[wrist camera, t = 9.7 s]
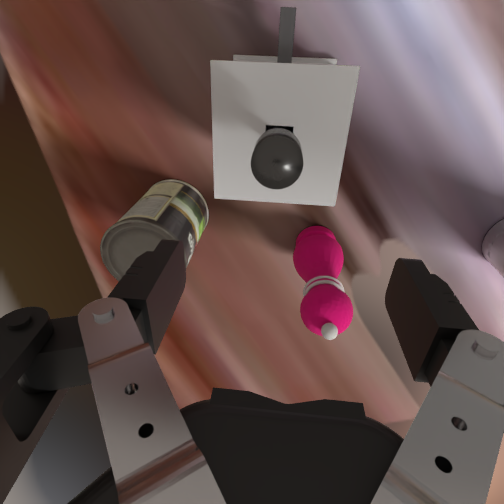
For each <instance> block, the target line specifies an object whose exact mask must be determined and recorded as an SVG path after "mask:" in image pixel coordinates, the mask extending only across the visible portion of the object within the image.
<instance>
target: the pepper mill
mask: <svg viewBox="0 0 504 504" xmlns="http://www.w3.org/2000/svg"><path fill="white" fill-rule="evenodd" d="M343 259H344V258H343V251H342V248H341V246H340V245H339V243H338V242H337V241H336V238H335V236H334V234H333V233H332V231H330V230H329V229H327V228H325V227H322V226H311V227H308V228H306V229H304V230H303V231H302V232H301V233H300V234H299V235H298V237H297V239H296V248H295V250H294V253H293V261H294V266H295V268H296V270H297V272H298V274H299V275H300V276H301V278H302V279H303V280H304V281H305V282H306V285H305V287H304V290H303V295H304V298H303V300H302V302H301V307H300V313H301V318H302V320H303V322H304V324H305V325H306V327H307V328H308V329H309V330H310V331H312V332H313V333H315V334H317V335H320V336H323V337H324V338H326V339H328V340H332V339H334V338H336V336H337V335H338V334H340V333H342V332H343V331H345V330H346V329H347V328H348V326H349V325H350V323H351V321H352V317H353V307H352V303H351V300H350V298H349V297H348V296H347V295H346V293H345V292H344V288H343V285H342V284H341V282H340V281H339V280H337V277H338V275H339V274H340V272H341V269H342V266H343Z"/></svg>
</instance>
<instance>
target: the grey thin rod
mask: <svg viewBox="0 0 504 504" xmlns="http://www.w3.org/2000/svg"><path fill="white" fill-rule="evenodd" d="M293 127H294V126H275V125H266V132H264V133H263V134H262V135H261V136H260V137H259V139H258V140H257V142H256V145H255V148H254V151H253V154H252V157H251V170H252V173H253V175H254V177H255V179H256V180H257V181H258V182H259V183H260V184H261V185H263V186H265V187H267V188H270V189H284V188H287V187H289V186H291V185H292V184H294V183H295V182H296V181H297V179H298V178H299V177H300V175H301V173H302V170H303V155H302V149H301V144H300V142H299V140H298V138H297V137H296V136H295V135H294V134H293Z"/></svg>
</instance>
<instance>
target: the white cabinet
mask: <svg viewBox="0 0 504 504" xmlns="http://www.w3.org/2000/svg"><path fill="white" fill-rule="evenodd" d="M295 16H296V8H291V7H281V12H280V27H279V43H278V56H255V55H233V61H227V60H210V67H211V101H212V135H213V169H214V198H215V199H230V200H245V201H261V202H276V203H291V204H307V205H322V206H335V203H336V198H337V192H338V187H339V181H340V176H341V170H342V165H343V159H344V154H345V148H346V143H347V137H348V132H349V126H350V120H351V115H352V109H353V104H354V98H355V93H356V87H357V82H358V76H359V71H360V66H347V65H337V59H330V58H305V57H292V52H293V40H294V28H295ZM266 125H275V126H294V127H293V134H294V135H295V136H296V137H297V138H298V140H299V142H300V144H301V149H302V155H303V170H302V173H301V175H300V177H299V178H298V179H297V181H296V182H295V183H294V184H292V185H291V186H289V187H287V188H284V189H270V188H267V187H265V186H263V185H261V184H260V183H259V182H258V181H257V180H256V179H255V177H254V175H253V173H252V170H251V157H252V154H253V151H254V148H255V145H256V142H257V140H258V139H259V137H260V136H261V135H262V134H263V133H264V132H266Z"/></svg>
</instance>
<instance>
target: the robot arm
mask: <svg viewBox="0 0 504 504" xmlns="http://www.w3.org/2000/svg"><path fill="white" fill-rule="evenodd" d="M482 252H483V255H484V257H485V258H486V259H487V260H488V261H489V262H490V263H491V265H492V266H493V267H494V268H495V269H496V270H497V271H498V272H499V273H500V274H501V275H502V276H503V277H504V219H503V220H501V221H499V222H498V223H497V224H495V225H494V226H493V227H492V228H491V229H490V230H489V231H488V233H487V234H486V236H485V238H484V240H483V243H482ZM185 282H186V269H185V258H184V247H183V242H182V241H178V240H165V239H162V240H161V241H160V242H159V244H158V245H157V247H156V248H155V250H154V251H146V252H145V253H143V254H142V255H140V256H138V257H137V258H136V259H135V261H134V262H133V263H132V265H131V266H130V268H129V269H128V270H127V271H126V273H125V275H124V276H123V277H122V278H121V280H120V281H119V282H118V284H117V285H116V286H115V288H114V289H113V291H112V292H111V293H110V295H109V296H108V297H107V298H102V299H99V300H96V301H93V302H91V303H90V304H88V305H86V306H85V307H84V308H83V309H82V310H81V311H80V313H79V315H78V316H72V317H65V318H58V319H50V317H49V315H48V312H47V311H46V310H45V309H43V308H40V307H26V308H21V309H18V310H15V311H12V312H10V313H8V314H6V315H5V316H3V317H2V318H0V504H3V502H4V500H5V499H6V497H7V495H8V493H9V491H10V490H11V488H12V487H13V485H14V483H15V481H16V480H17V478H18V476H19V474H20V473H21V471H22V469H23V468H24V466H25V464H26V462H27V461H28V459H29V457H30V455H31V454H32V452H33V450H34V448H35V447H36V445H37V443H38V441H39V440H40V438H41V436H42V435H43V433H44V431H45V429H46V428H47V426H48V424H49V422H50V421H51V419H52V417H53V416H54V414H55V412H56V410H57V409H58V407H59V405H60V403H61V402H62V400H63V398H64V396H65V395H66V393H67V391H68V390H69V388H70V387H75V386H81V385H86V384H92V387H93V391H94V395H95V400H96V404H97V408H98V412H99V416H100V420H101V424H102V429H103V433H104V437H105V441H106V446H107V450H108V454H109V458H110V462H111V467H110V468H109V469H107V470H106V471H105V472H104V473H103V474H101V475H100V476H99V477H98V478H97V479H96V480H95V481H93V482H92V483H91V484H90V485H89V486H87V487H86V488H85V489H84V490H83V491H82V492H80V493H79V494H78V495H77V496H76V497H75V498H74V499H72V500H71V501H70V502H69V503H68V504H485V503H486V499H487V496H488V492H489V488H490V484H491V480H492V476H493V472H494V468H495V464H496V460H497V456H498V453H499V449H500V445H501V441H502V437H503V433H504V342H503V341H501V340H500V339H498V338H497V337H495V336H493V335H491V334H488V333H486V332H483V331H479V329H478V328H477V326H476V325H475V323H474V322H473V320H472V319H471V318H470V316H469V315H468V313H467V312H466V310H465V309H464V307H463V306H462V304H460V302H459V300H458V299H457V297H456V296H454V293H453V291H452V290H451V288H450V287H449V286H448V284H447V283H446V282H444V281H443V280H442V279H441V278H439V277H438V276H437V275H435V274H430V272H429V271H428V269H427V268H426V266H425V265H424V263H423V262H422V260H418V259H404V258H399V259H397V260H396V262H395V265H394V268H393V271H392V275H391V278H390V281H389V284H388V287H387V290H386V295H385V305H386V309H387V311H388V314H389V317H390V319H391V322H392V324H393V327H394V329H395V332H396V335H397V337H398V340H399V343H400V345H401V348H402V350H403V353H404V356H405V358H406V361H407V364H408V366H409V369H410V371H411V374H412V376H413V379H414V381H418V382H428V383H429V384H430V386H431V388H430V390H429V392H428V394H427V396H426V398H425V400H424V402H423V404H422V406H421V407H420V409H419V411H418V413H417V415H416V417H415V419H414V421H413V423H412V425H411V427H410V429H409V431H408V433H407V435H406V436H405V438H404V439H403V438H402V437H401V436H399V435H398V434H397V433H395V432H394V431H393V430H391V429H390V428H389V427H387V426H385V425H383V424H382V423H380V422H378V421H376V420H374V419H372V418H369V417H366V416H365V411H364V407H363V403H356V402H347V401H337V400H327V399H324V400H316V401H309V402H302V403H295V404H284V403H281V402H278V401H275V400H272V399H270V398H267V397H264V396H261V395H258V394H255V393H253V392H250V391H241V390H232V389H222V388H213V391H212V395H211V399H209V400H203V401H200V402H196V403H193V404H191V405H188V406H186V407H184V408H182V409H180V410H179V408H178V406H177V404H176V401H175V399H174V397H173V395H172V393H171V390H170V388H169V386H168V384H167V382H166V380H165V377H164V375H163V373H162V371H161V369H160V367H159V364H158V362H157V360H156V358H155V356H154V354H155V355H156V352H157V350H158V348H159V346H160V343H161V341H162V339H163V336H164V334H165V332H166V330H167V327H168V325H169V323H170V320H171V318H172V316H173V313H174V311H175V309H176V307H177V304H178V302H179V300H180V297H181V295H182V293H183V291H184V288H185Z"/></svg>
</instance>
